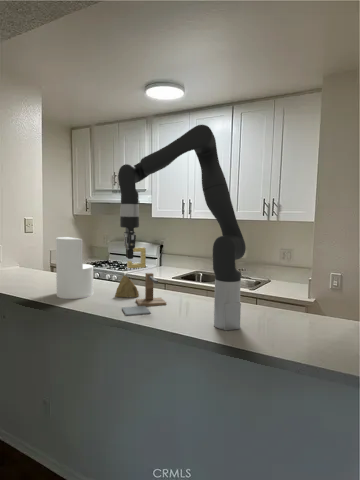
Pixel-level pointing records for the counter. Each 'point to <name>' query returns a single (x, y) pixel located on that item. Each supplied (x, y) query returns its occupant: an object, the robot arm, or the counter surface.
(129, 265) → the c link
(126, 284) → the rock
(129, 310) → the slate mat
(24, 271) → the counter surface
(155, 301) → the hook stand
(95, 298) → the counter surface
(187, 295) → the counter surface
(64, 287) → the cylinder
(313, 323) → the counter surface
